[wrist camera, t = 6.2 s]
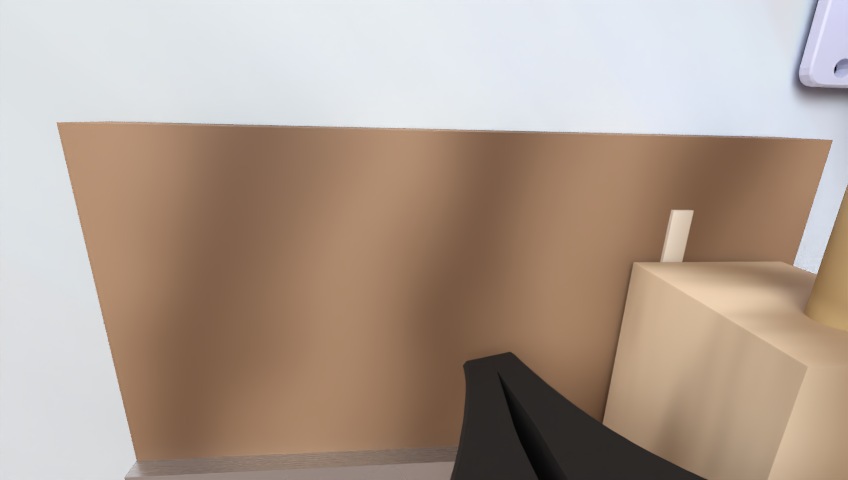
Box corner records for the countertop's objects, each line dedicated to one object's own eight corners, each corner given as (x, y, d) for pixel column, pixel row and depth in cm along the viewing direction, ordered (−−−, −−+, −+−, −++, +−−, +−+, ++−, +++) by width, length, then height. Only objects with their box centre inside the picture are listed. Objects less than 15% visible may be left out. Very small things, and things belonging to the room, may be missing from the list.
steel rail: (739, 433, 14) (754, 446, 13) (732, 455, 14) (746, 470, 14) (137, 460, 12) (124, 477, 12) (143, 485, 13) (131, 503, 12)
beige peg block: (812, 158, 11) (1138, 191, 6) (730, 426, 14) (913, 593, 9) (654, 155, 11) (871, 188, 6) (601, 432, 13) (720, 611, 8)
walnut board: (773, 136, 13) (836, 140, 11) (674, 495, 17) (708, 540, 15) (108, 121, 11) (53, 122, 9) (189, 524, 15) (162, 578, 14)
